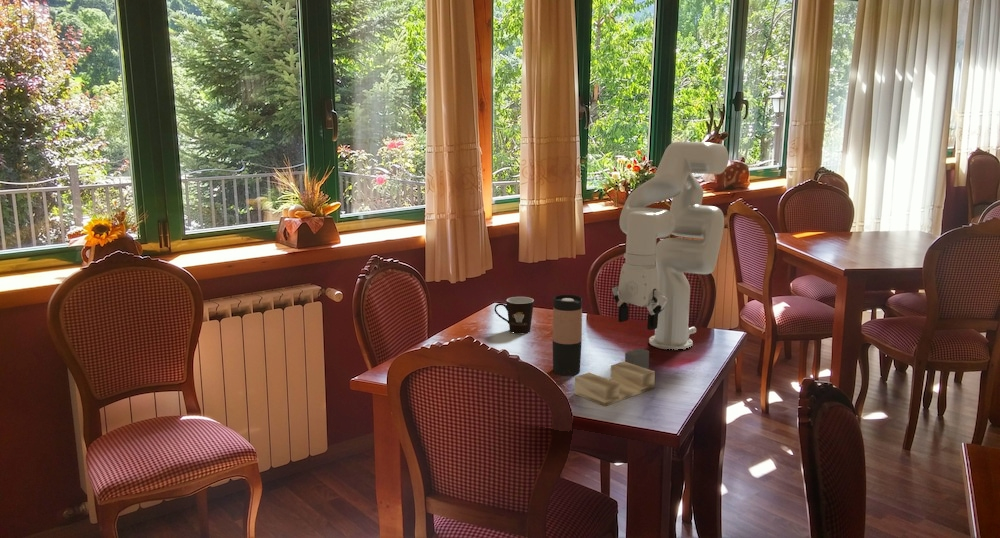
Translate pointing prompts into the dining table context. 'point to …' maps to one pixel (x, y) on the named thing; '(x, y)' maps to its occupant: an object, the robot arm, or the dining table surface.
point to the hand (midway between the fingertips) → (637, 325)
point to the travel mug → (567, 334)
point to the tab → (638, 357)
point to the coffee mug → (518, 313)
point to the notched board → (615, 383)
